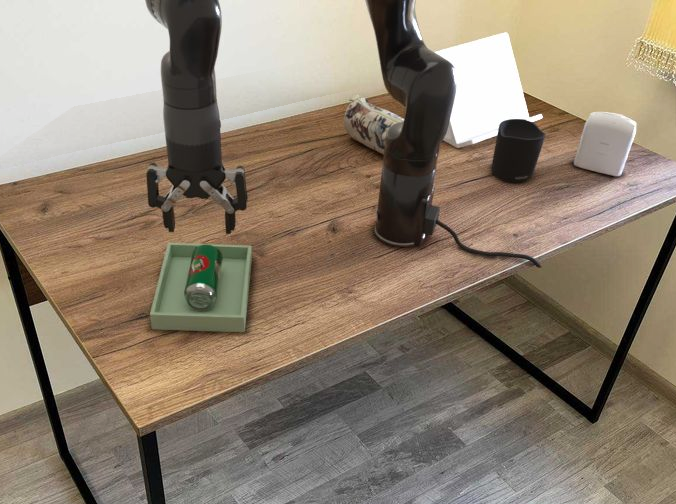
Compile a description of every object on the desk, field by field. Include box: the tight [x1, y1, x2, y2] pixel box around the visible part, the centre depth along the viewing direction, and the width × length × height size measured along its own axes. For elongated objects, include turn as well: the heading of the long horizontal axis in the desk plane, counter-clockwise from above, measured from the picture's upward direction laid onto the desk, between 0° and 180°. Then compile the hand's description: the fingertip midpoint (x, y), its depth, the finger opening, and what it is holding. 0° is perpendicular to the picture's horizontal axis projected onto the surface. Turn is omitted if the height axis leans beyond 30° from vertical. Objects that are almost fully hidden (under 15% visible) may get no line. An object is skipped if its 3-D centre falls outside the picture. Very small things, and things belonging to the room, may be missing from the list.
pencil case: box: [343, 94, 404, 156], centre depth 157 cm, size 22×8×10 cm, turn 43°
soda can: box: [184, 245, 223, 310], centre depth 119 cm, size 5×5×12 cm
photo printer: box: [573, 111, 637, 177], centre depth 156 cm, size 10×4×12 cm, turn 63°
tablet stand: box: [434, 32, 543, 149], centre depth 167 cm, size 18×25×17 cm
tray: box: [149, 242, 253, 333], centre depth 120 cm, size 19×14×3 cm
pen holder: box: [491, 119, 547, 184], centre depth 153 cm, size 9×9×10 cm
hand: (200, 230), depth 112 cm, fingers open, 8 cm apart
